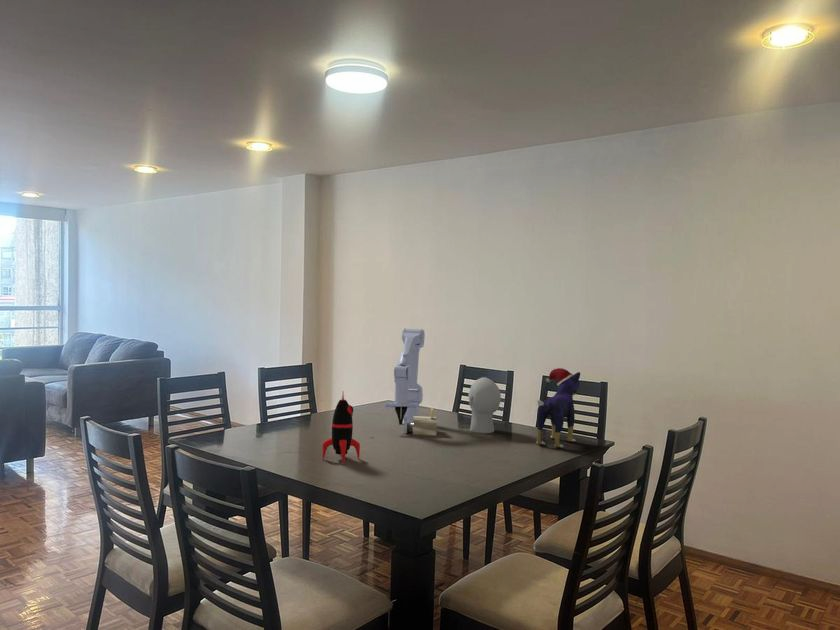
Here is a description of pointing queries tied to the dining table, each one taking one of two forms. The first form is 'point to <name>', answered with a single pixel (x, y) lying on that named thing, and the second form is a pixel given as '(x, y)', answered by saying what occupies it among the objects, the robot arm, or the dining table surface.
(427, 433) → the block
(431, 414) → the keeper flap
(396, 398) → the robot arm
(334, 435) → the toy rocket
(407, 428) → the silver metal piece
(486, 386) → the head
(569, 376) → the toy
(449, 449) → the dining table surface
